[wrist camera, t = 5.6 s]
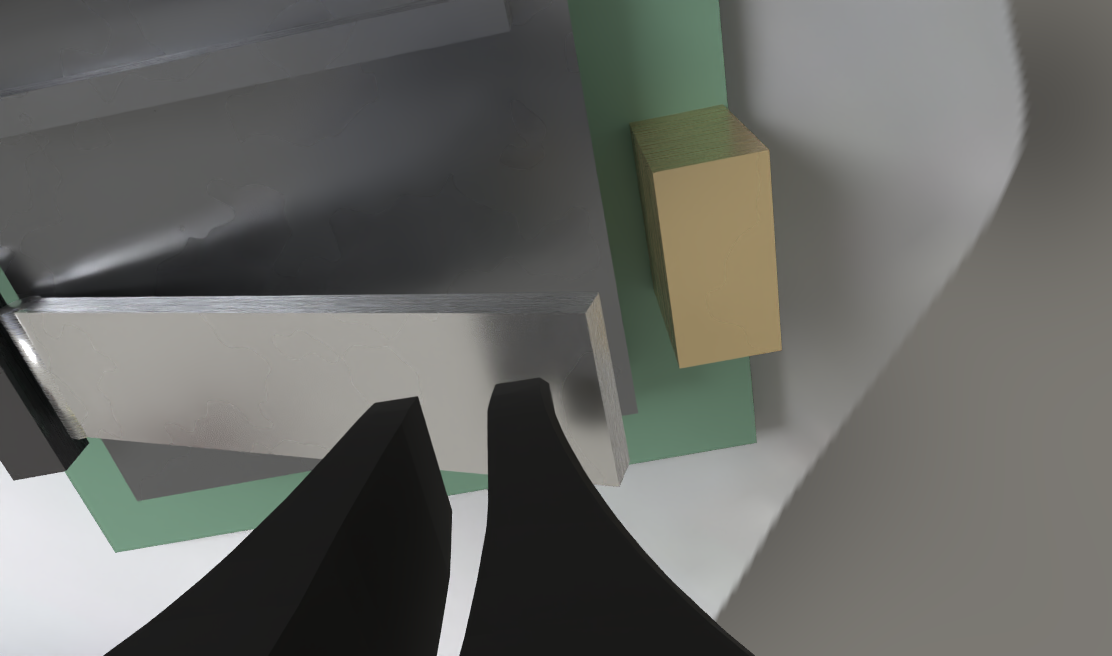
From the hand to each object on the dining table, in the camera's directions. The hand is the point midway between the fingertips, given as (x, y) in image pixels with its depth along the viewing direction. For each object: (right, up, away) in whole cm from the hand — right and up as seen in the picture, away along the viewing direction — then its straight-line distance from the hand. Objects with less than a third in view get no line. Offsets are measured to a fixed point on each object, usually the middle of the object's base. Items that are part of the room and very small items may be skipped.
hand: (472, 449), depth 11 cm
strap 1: (-4, +1, +3) cm, 5 cm away
